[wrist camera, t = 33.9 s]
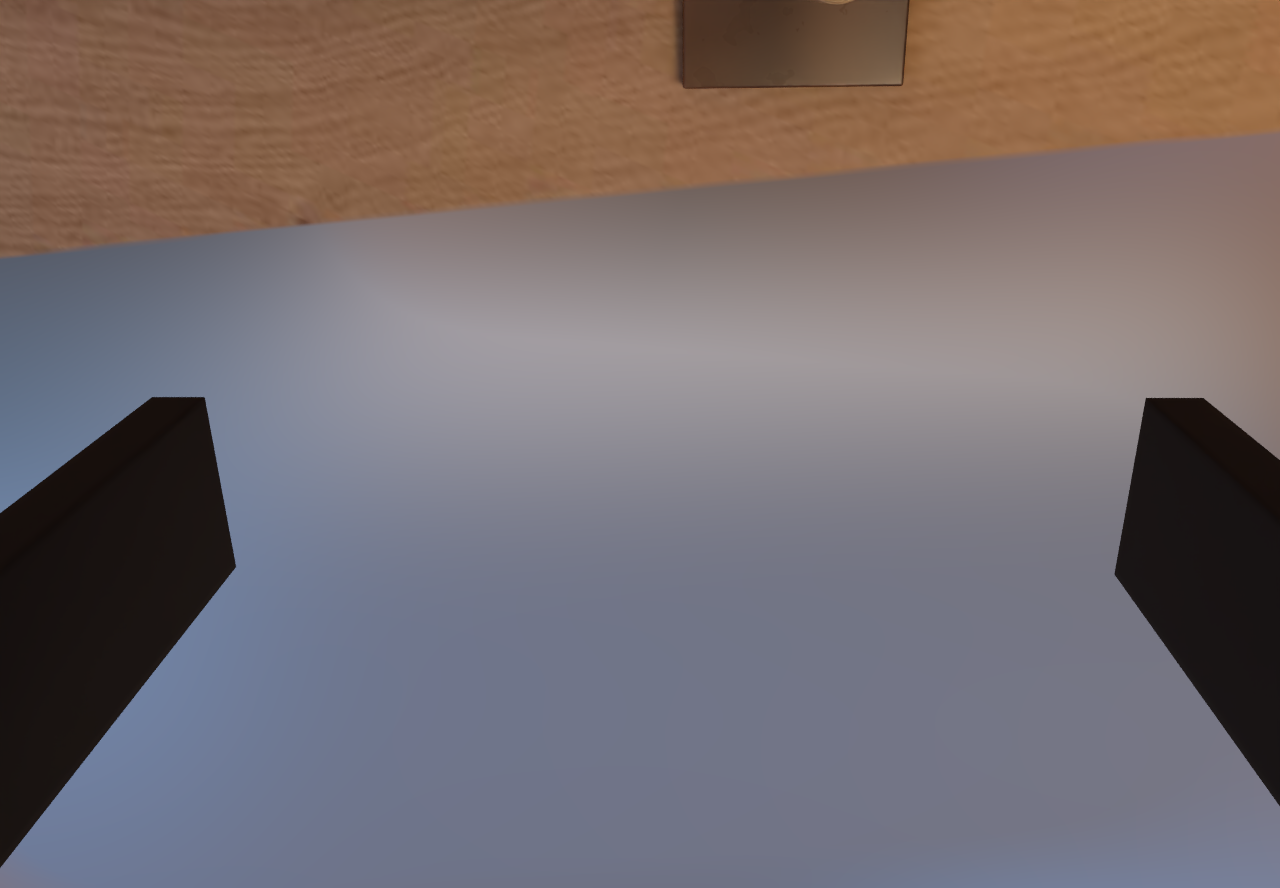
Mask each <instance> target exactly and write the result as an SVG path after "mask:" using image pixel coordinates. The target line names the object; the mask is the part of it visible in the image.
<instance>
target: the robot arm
mask: <svg viewBox="0 0 1280 888" xmlns="http://www.w3.org/2000/svg"><path fill="white" fill-rule="evenodd" d="M235 567H236V564H235V559H234V553H233V548H232V543H231V538H230V532H229V527H228V521H227V516H226V511H225V505H224V499H223V494H222V489H221V483H220V478H219V473H218V467H217V462H216V456H215V451H214V445H213V440H212V435H211V430H210V424H209V418H208V413H207V408H206V402H205V398H204V397H152V398H151V399H149V400H148V401H147V402H145V403H144V404H143V405H141V406H140V407H139V408H137V409H136V410H135V411H133V412H132V413H131V414H129V415H128V416H127V417H126V418H124V419H123V420H122V421H120V422H119V423H118V424H116V425H115V426H114V427H112V428H111V429H110V430H109V431H107V432H106V433H105V434H103V435H102V436H101V437H99V438H98V439H97V440H96V441H94V442H93V443H92V444H90V445H89V446H88V447H86V448H85V449H84V450H82V451H81V452H80V453H79V454H77V455H76V456H75V457H73V458H72V459H71V460H69V461H68V462H67V463H65V464H64V465H63V466H61V467H60V468H59V469H58V470H56V471H55V472H54V473H52V474H51V475H50V476H49V477H47V478H46V479H45V480H43V481H42V482H41V483H39V484H38V485H37V486H35V487H34V488H33V489H31V490H30V491H29V492H27V493H26V494H25V495H24V496H22V497H21V498H20V499H18V500H17V501H16V502H15V503H13V504H12V505H11V506H9V507H8V508H7V509H5V510H4V511H3V512H1V513H0V867H1V866H2V865H3V864H4V862H5V861H6V860H7V859H8V857H9V856H10V855H11V853H12V852H13V851H14V850H15V848H16V847H17V846H18V844H19V843H20V842H21V841H22V839H23V838H24V837H25V835H26V834H27V833H28V832H29V830H30V829H31V828H32V827H33V825H34V824H35V822H36V821H37V820H38V819H39V818H40V816H41V815H42V814H43V813H44V811H45V810H46V809H47V807H48V806H49V805H50V804H51V802H52V801H53V800H54V799H55V797H56V796H57V795H58V793H59V792H60V791H61V790H62V788H63V787H64V786H65V784H66V783H67V782H68V781H69V779H70V778H71V777H72V776H73V774H74V773H75V772H76V770H77V769H78V768H79V767H80V765H81V764H82V763H83V761H84V760H85V759H86V758H87V756H88V755H89V754H90V752H91V751H92V750H93V749H94V747H95V746H96V745H97V744H98V742H99V741H100V740H101V738H102V737H103V736H104V735H105V733H106V732H107V731H108V729H109V728H110V727H111V725H112V724H113V723H114V722H115V721H116V719H117V718H118V717H119V716H120V714H121V713H122V712H123V710H124V709H125V708H126V707H127V705H128V704H129V703H130V702H131V700H132V699H133V698H134V696H135V695H136V694H137V692H138V691H139V690H140V689H141V687H142V686H143V685H144V683H145V682H146V681H147V680H148V679H149V677H150V676H151V675H152V673H153V672H154V671H155V670H156V668H157V667H158V666H159V664H160V663H161V662H162V661H163V659H164V658H165V657H166V655H167V654H168V653H169V652H170V650H171V649H172V648H173V646H174V645H175V644H176V643H177V642H178V640H179V639H180V638H181V636H182V635H183V634H184V633H185V631H186V630H187V629H188V627H189V626H190V625H191V623H192V622H193V621H194V620H195V618H196V617H197V616H198V615H199V613H200V612H201V611H202V610H203V608H204V607H205V606H206V605H207V603H208V602H209V600H210V599H211V598H212V596H214V594H215V593H216V592H217V590H218V589H219V588H220V587H221V585H222V584H223V583H224V582H225V580H226V579H227V578H228V576H229V575H230V574H231V573H232V571H233V570H234V569H235ZM1115 576H1116V577H1117V579H1118V580H1119V581H1120V583H1121V584H1122V585H1123V587H1124V588H1125V590H1126V591H1127V592H1128V594H1129V595H1130V597H1131V598H1132V600H1133V601H1134V602H1135V604H1136V605H1137V607H1138V608H1139V609H1140V611H1141V612H1142V613H1143V615H1144V616H1145V618H1146V619H1147V620H1148V622H1149V623H1150V625H1151V626H1152V627H1153V629H1154V630H1155V632H1156V633H1157V635H1158V636H1159V637H1160V639H1161V640H1162V641H1163V643H1164V644H1165V646H1166V647H1167V648H1168V650H1169V651H1170V653H1171V654H1172V655H1173V657H1174V658H1175V660H1176V661H1177V663H1178V664H1179V665H1180V667H1181V668H1182V670H1183V671H1184V672H1185V674H1186V675H1187V677H1188V678H1189V679H1190V681H1191V682H1192V684H1193V685H1194V686H1195V688H1196V689H1197V691H1198V692H1199V693H1200V695H1201V696H1202V698H1203V699H1204V700H1205V702H1206V703H1207V705H1208V706H1209V707H1210V709H1211V710H1212V712H1213V713H1214V714H1215V716H1216V717H1217V719H1218V720H1219V721H1220V723H1221V724H1222V725H1223V727H1224V728H1225V730H1226V731H1227V733H1228V734H1229V735H1230V737H1231V738H1232V740H1233V741H1234V743H1235V744H1236V745H1237V747H1238V748H1239V749H1240V751H1241V752H1242V754H1243V755H1244V757H1245V758H1246V759H1247V761H1248V762H1249V763H1250V765H1251V766H1252V768H1253V769H1254V770H1255V772H1256V773H1257V775H1258V776H1259V778H1260V779H1261V780H1262V782H1263V783H1264V785H1265V786H1266V787H1267V789H1268V790H1269V791H1270V793H1271V794H1272V796H1273V797H1274V799H1275V800H1276V801H1277V803H1278V804H1279V806H1280V460H1279V459H1278V458H1276V457H1275V456H1274V455H1273V454H1271V453H1270V452H1269V451H1268V450H1267V449H1265V448H1264V447H1263V446H1262V445H1260V444H1259V443H1258V442H1257V441H1255V440H1254V439H1253V438H1252V437H1251V436H1249V435H1248V434H1247V433H1246V432H1244V431H1243V430H1242V429H1241V428H1239V427H1238V426H1237V425H1236V424H1235V423H1233V422H1232V421H1231V420H1230V419H1228V418H1227V417H1226V416H1224V415H1223V414H1222V413H1221V412H1220V411H1218V410H1217V409H1216V408H1215V407H1213V406H1212V405H1211V404H1210V403H1209V402H1207V401H1206V400H1205V399H1204V398H1146V401H1145V406H1144V412H1143V417H1142V423H1141V429H1140V434H1139V440H1138V445H1137V451H1136V456H1135V462H1134V468H1133V473H1132V479H1131V485H1130V490H1129V496H1128V502H1127V507H1126V513H1125V519H1124V524H1123V529H1122V535H1121V541H1120V546H1119V552H1118V557H1117V563H1116V569H1115Z"/></svg>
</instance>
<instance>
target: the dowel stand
mask: <svg viewBox="0 0 1280 888" xmlns="http://www.w3.org/2000/svg"><path fill="white" fill-rule="evenodd" d="M908 12H909V0H683V87H684V88H685V89H695V88H773V87H851V86H901V85H902V84H903V78H904V65H905V52H906V38H907V25H908Z"/></svg>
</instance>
